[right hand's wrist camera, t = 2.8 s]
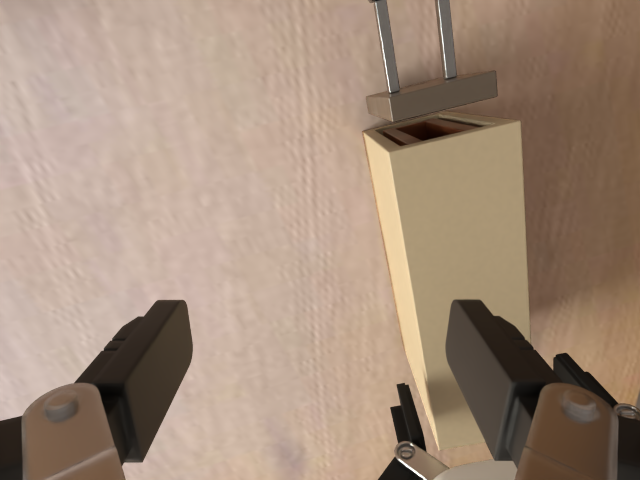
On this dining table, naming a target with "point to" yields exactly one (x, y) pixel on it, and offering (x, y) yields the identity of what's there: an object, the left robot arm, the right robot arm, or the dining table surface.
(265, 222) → the dining table surface
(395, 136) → the drawer
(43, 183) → the dining table surface
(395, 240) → the cream rectangular box
